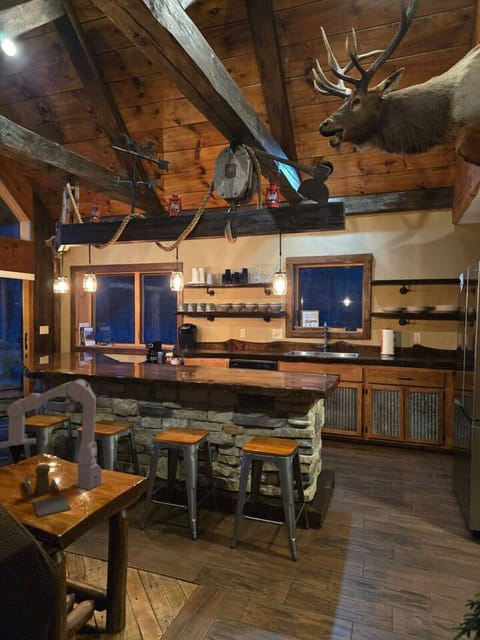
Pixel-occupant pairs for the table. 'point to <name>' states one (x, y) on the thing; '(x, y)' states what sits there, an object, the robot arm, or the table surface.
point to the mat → (51, 505)
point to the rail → (55, 487)
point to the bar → (28, 487)
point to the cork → (42, 480)
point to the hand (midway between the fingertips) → (15, 463)
